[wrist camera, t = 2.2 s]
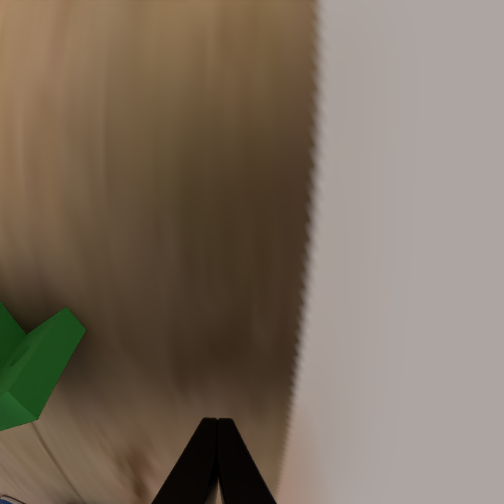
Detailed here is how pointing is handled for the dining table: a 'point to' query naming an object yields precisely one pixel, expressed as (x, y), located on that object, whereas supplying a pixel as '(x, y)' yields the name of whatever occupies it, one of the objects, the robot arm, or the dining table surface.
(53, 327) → the pipe clamp
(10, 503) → the beverage bottle
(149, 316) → the dining table surface
